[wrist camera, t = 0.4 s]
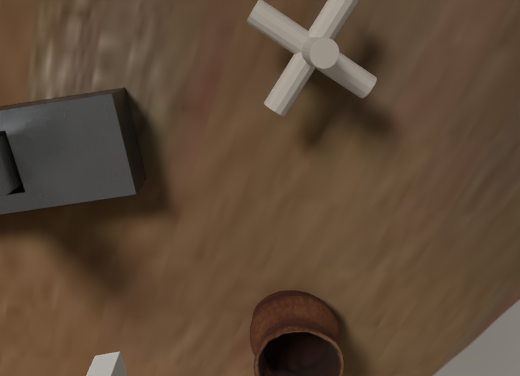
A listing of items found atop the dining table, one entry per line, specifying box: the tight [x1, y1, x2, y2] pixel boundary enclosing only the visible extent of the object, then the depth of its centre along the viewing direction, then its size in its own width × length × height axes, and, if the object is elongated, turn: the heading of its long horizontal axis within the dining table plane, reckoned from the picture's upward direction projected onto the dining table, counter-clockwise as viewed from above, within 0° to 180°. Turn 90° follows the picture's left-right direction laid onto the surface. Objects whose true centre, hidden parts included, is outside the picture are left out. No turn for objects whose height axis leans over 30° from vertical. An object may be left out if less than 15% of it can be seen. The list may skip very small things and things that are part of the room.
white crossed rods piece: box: [246, 0, 377, 116], centre depth 33 cm, size 10×10×10 cm
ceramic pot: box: [250, 291, 344, 376], centre depth 43 cm, size 18×18×7 cm
